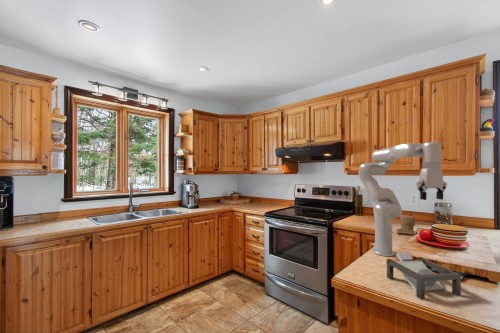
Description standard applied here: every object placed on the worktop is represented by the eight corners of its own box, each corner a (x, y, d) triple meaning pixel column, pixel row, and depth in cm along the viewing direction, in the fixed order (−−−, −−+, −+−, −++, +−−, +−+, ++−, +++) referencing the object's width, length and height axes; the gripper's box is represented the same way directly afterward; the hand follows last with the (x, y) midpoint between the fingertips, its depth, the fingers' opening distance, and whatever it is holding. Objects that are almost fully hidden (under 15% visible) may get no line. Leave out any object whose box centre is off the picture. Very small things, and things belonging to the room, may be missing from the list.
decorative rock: (469, 276, 110) (429, 265, 120) (468, 288, 111) (428, 276, 120) (467, 261, 124) (432, 252, 134) (466, 272, 125) (431, 262, 135)
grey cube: (415, 275, 109) (420, 269, 106) (424, 275, 110) (429, 268, 107) (423, 286, 105) (428, 279, 102) (432, 285, 106) (438, 279, 103)
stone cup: (413, 232, 197) (413, 214, 197) (419, 236, 186) (419, 217, 186) (393, 230, 202) (393, 213, 202) (397, 234, 190) (397, 216, 190)
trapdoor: (388, 255, 120) (390, 252, 118) (412, 254, 122) (414, 251, 120) (414, 292, 104) (416, 289, 103) (442, 289, 106) (444, 287, 105)
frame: (386, 277, 117) (386, 259, 117) (421, 274, 120) (421, 257, 120) (420, 299, 98) (420, 277, 98) (460, 295, 100) (460, 274, 100)
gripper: (439, 166, 126) (439, 198, 126) (410, 166, 123) (410, 198, 123) (453, 166, 118) (453, 200, 118) (423, 166, 116) (423, 200, 116)
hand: (431, 199), depth 121 cm, fingers open, 9 cm apart
